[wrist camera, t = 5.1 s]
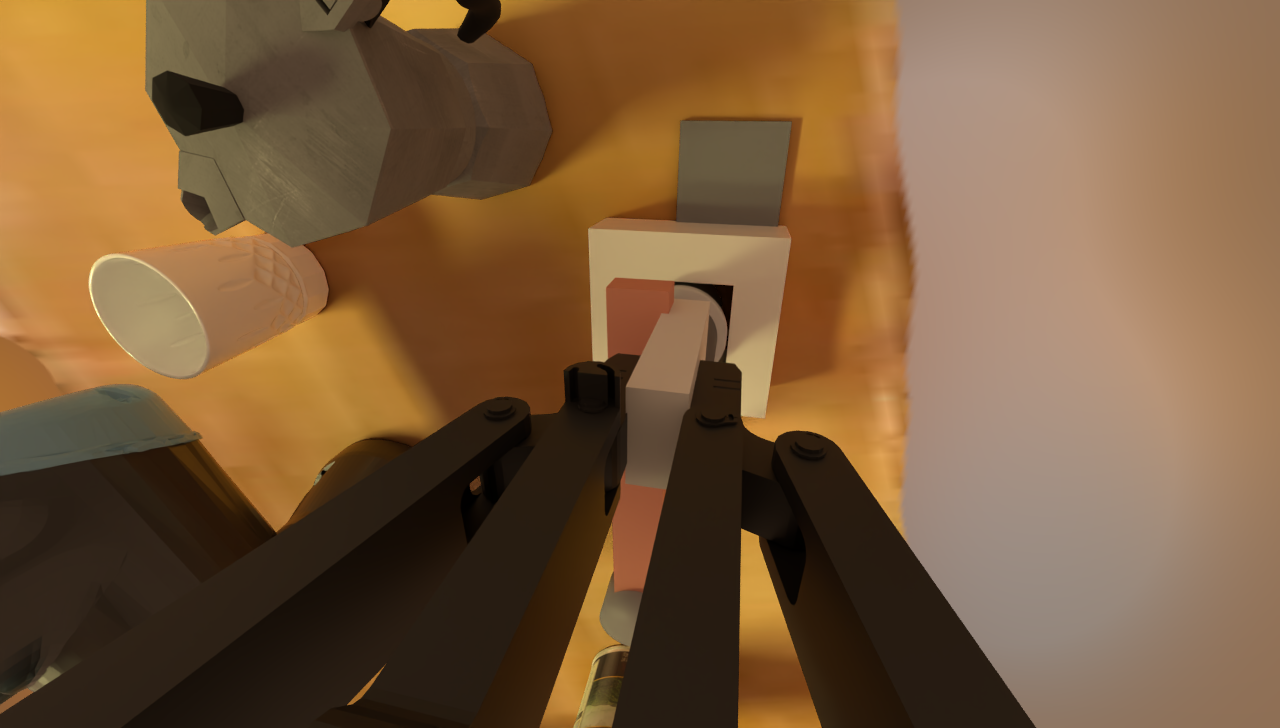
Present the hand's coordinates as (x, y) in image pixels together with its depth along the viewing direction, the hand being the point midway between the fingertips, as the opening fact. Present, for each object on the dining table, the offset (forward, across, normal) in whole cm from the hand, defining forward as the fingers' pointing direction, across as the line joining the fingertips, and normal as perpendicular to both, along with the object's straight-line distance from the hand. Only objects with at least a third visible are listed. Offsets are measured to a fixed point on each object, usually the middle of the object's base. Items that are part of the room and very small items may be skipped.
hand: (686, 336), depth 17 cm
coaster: (+15, -1, -4) cm, 15 cm away
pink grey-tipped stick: (0, +1, +6) cm, 6 cm away
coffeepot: (+15, +14, -8) cm, 22 cm away
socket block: (+15, +1, +4) cm, 15 cm away
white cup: (+15, +32, +4) cm, 36 cm away
